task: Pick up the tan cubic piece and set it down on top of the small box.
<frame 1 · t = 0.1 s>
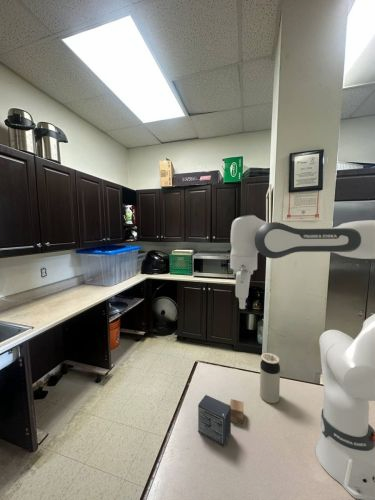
hand: (243, 303, 72), 48 cm above the table, fingers open, 8 cm apart
travel mug: (269, 397, 92), on the table
small box: (214, 432, 76), on the table
tan cubic piece: (236, 417, 82), on the table
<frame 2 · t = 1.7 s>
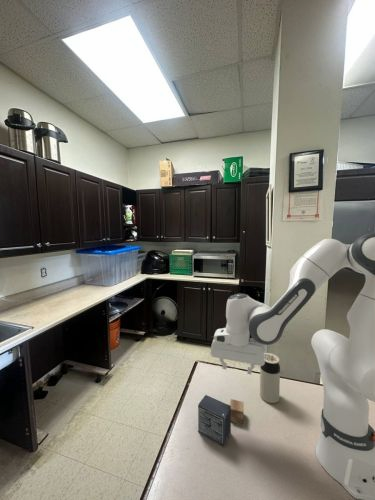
hand: (236, 370, 81), 19 cm above the table, fingers open, 8 cm apart
nothing on the table moved.
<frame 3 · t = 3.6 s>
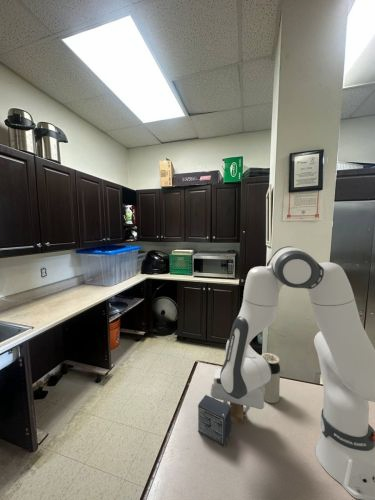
hand: (236, 411, 82), 2 cm above the table, fingers closed on tan cubic piece, 5 cm apart
tan cubic piece: (236, 416, 82), on the table, touching gripper
everything else where it was.
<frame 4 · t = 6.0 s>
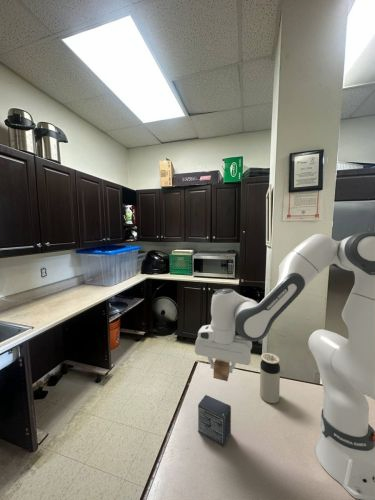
hand: (221, 369, 77), 22 cm above the table, fingers closed on tan cubic piece, 5 cm apart
tan cubic piece: (221, 375, 77), point 20 cm above the table, touching gripper
everything else where it was.
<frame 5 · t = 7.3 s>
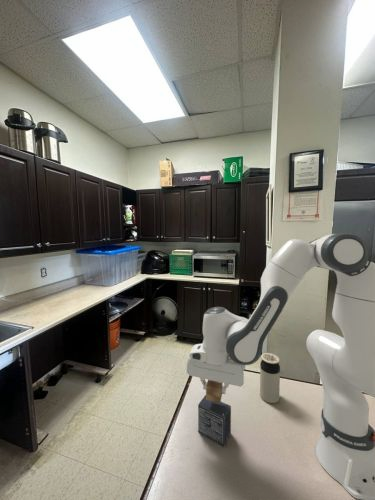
hand: (214, 390, 75), 16 cm above the table, fingers closed on tan cubic piece, 5 cm apart
tan cubic piece: (214, 396, 75), point 14 cm above the table, touching gripper
everything else where it was.
when the fingers open (13 cm above the table, at t = 8.2 s): tan cubic piece stays where it is, resting on small box.
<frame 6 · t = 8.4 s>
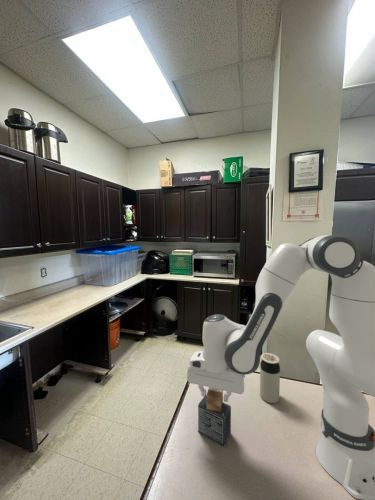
hand: (214, 397, 75), 13 cm above the table, fingers open, 7 cm apart
small box: (214, 432, 76), on the table, touching tan cubic piece
tan cubic piece: (214, 405, 75), point 10 cm above the table, touching small box
everything else where it was.
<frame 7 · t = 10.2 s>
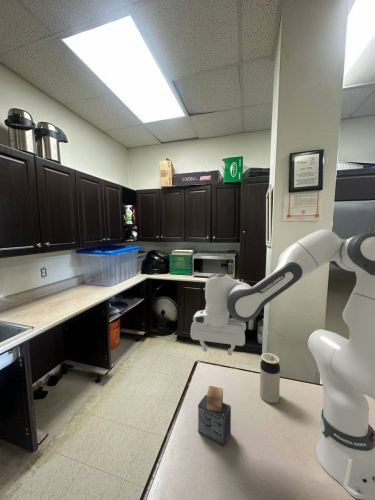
hand: (217, 352, 79), 27 cm above the table, fingers open, 8 cm apart
nothing on the table moved.
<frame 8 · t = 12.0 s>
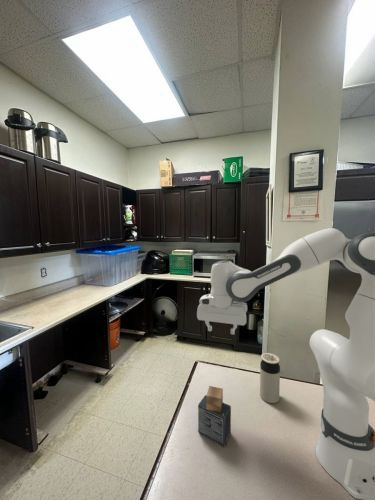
hand: (221, 332, 87), 31 cm above the table, fingers open, 8 cm apart
nothing on the table moved.
at the end: tan cubic piece inside the target area on the small box (0.1 cm from its centre), point 10.7 cm above the small box's base; tan cubic piece tilted 0°; the gripper is holding nothing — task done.
